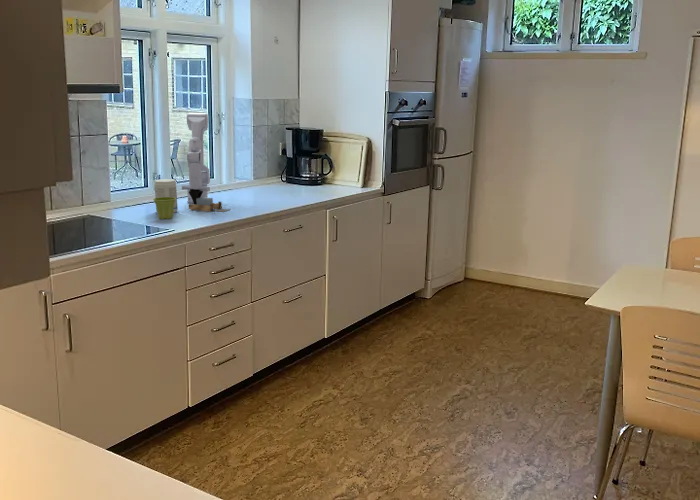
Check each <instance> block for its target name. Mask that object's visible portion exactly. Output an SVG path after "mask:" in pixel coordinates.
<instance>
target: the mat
mask: <svg viewBox="0 0 700 500" xmlns="http://www.w3.org/2000/svg"><path fill="white" fill-rule="evenodd" d="M229 211H230V209H226V208H222V209H215V210H214V209H213V212H219V213H225V212H229Z"/></svg>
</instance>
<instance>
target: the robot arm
mask: <svg viewBox="0 0 700 500" xmlns="http://www.w3.org/2000/svg"><path fill="white" fill-rule="evenodd" d="M186 113H187V114H186V125H187V128H188V130H189V131H191V138H190V139H189V141H188V152H187V153H186V161H187V168H188V180H189V181H188V182H189V184H183V185H181V190H182V191H183V190H185V191H187V201H186V203H188V204H197V201H196V198H201V197H205V198H209V197H208V196H209V195H208V192H210V191H211V187H210V186H208V185H209V184H210V183H211V174H210V169H209V167H207V166H206V165H205V164H204V163H205V162H204V161H205V160H204V159H205V158H204V156H205V155H204V136H205V135H204V134H205V132H207V131H208V129H209V116H208V113H207V112H186Z"/></svg>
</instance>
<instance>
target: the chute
mask: <svg viewBox="0 0 700 500" xmlns="http://www.w3.org/2000/svg"><path fill="white" fill-rule="evenodd" d="M222 207H223V206H222V201H218V203H216V202H213V204H210V206H209V205H197V204H194V203H188V210H190V211H202V212H214V209H215V210H217V209H223V208H222Z"/></svg>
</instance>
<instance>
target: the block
mask: <svg viewBox="0 0 700 500" xmlns="http://www.w3.org/2000/svg"><path fill="white" fill-rule="evenodd" d="M213 200H214V199H213V197H208V198H205V197H201V198H196V201H197V205H209V206H210V204H213V203H214V201H213Z"/></svg>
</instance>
